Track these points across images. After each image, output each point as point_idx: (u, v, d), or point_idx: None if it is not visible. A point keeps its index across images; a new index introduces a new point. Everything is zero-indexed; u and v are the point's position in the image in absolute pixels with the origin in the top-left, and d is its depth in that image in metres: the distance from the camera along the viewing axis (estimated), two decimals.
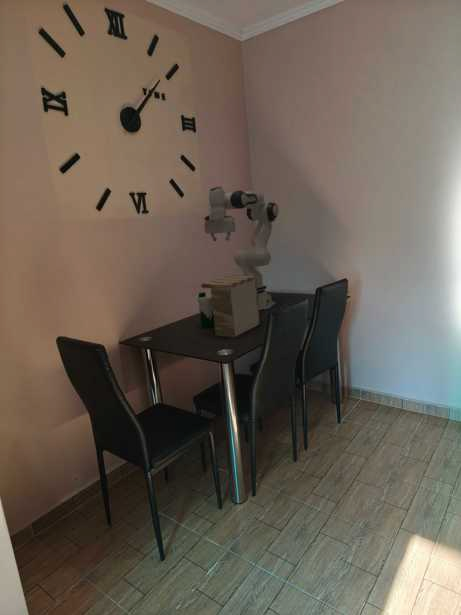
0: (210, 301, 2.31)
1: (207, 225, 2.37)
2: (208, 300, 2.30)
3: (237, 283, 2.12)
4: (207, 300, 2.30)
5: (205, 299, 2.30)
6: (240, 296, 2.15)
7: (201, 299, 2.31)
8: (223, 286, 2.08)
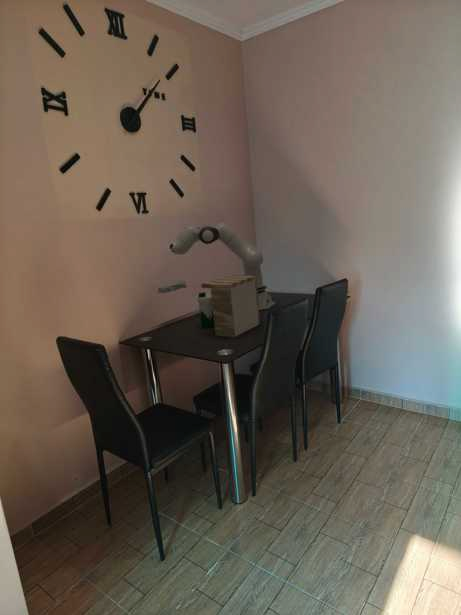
0: (210, 301, 2.31)
1: None
2: (208, 300, 2.30)
3: (237, 283, 2.12)
4: (207, 300, 2.30)
5: (205, 299, 2.30)
6: (240, 296, 2.15)
7: (201, 299, 2.31)
8: (223, 286, 2.08)
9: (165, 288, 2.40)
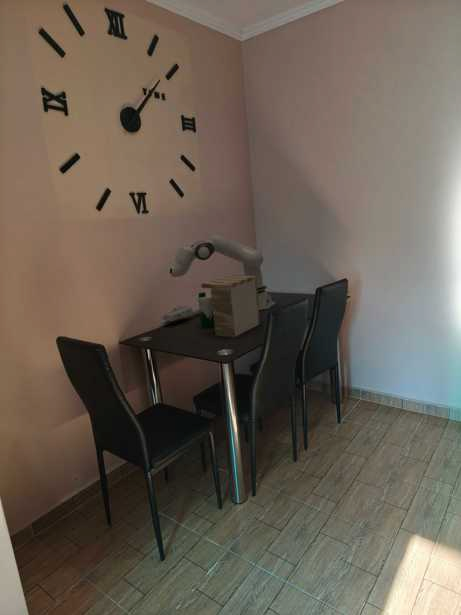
0: (210, 301, 2.31)
1: None
2: (208, 300, 2.30)
3: (237, 283, 2.12)
4: (207, 300, 2.30)
5: (205, 299, 2.30)
6: (240, 296, 2.15)
7: (201, 299, 2.31)
8: (223, 286, 2.08)
9: (172, 316, 2.43)
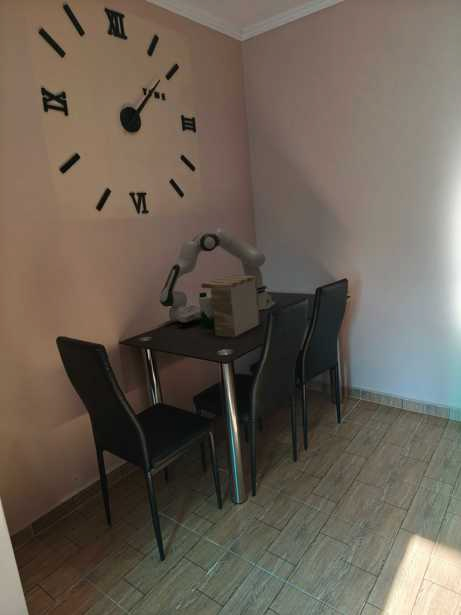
0: (211, 301, 2.30)
1: None
2: (209, 300, 2.30)
3: (237, 283, 2.12)
4: (208, 300, 2.30)
5: (206, 299, 2.30)
6: (240, 296, 2.15)
7: (202, 299, 2.31)
8: (223, 286, 2.08)
9: (187, 317, 2.36)
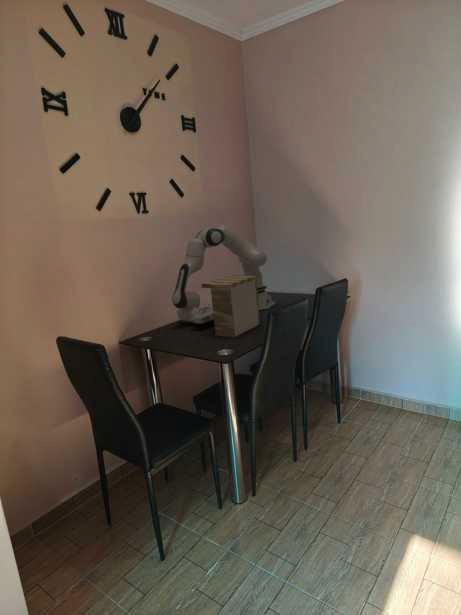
0: None
1: None
2: None
3: (237, 283, 2.12)
4: None
5: None
6: (240, 296, 2.15)
7: None
8: (223, 286, 2.08)
9: (202, 318, 2.29)
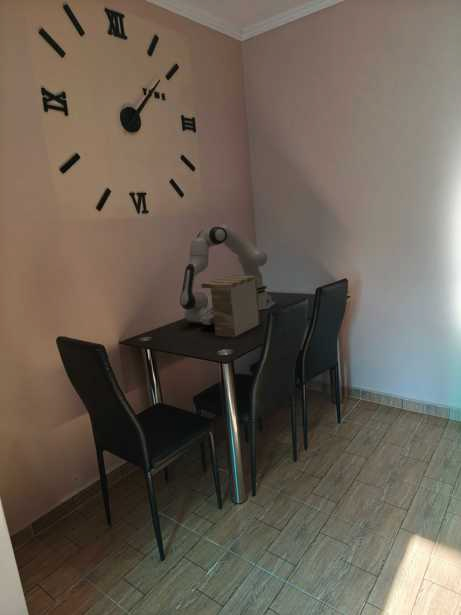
0: None
1: None
2: None
3: (237, 283, 2.12)
4: None
5: None
6: (240, 296, 2.15)
7: None
8: (223, 286, 2.08)
9: (211, 319, 2.25)
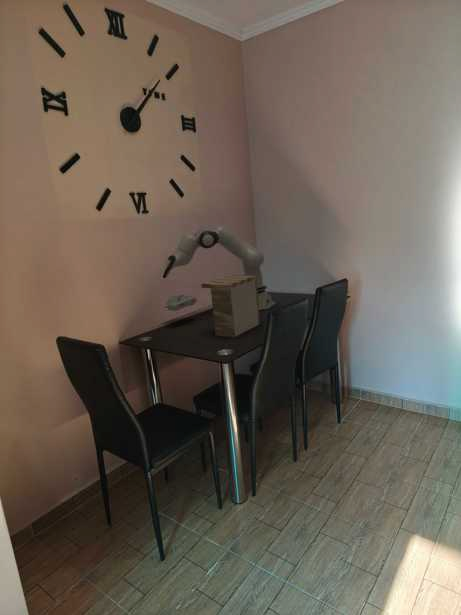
0: None
1: None
2: None
3: (237, 283, 2.12)
4: None
5: None
6: (240, 296, 2.15)
7: None
8: (223, 286, 2.08)
9: (176, 305, 2.39)
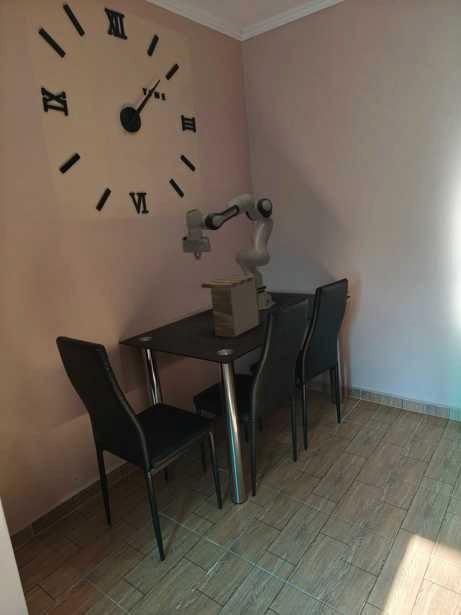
0: None
1: (185, 245, 2.52)
2: None
3: (237, 283, 2.12)
4: None
5: None
6: (240, 296, 2.15)
7: None
8: (223, 286, 2.08)
9: None
